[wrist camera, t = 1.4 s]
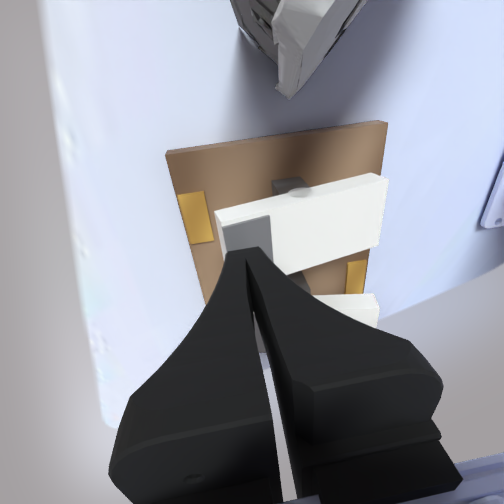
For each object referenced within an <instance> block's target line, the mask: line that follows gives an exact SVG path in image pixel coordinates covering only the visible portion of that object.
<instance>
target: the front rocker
mask: <svg viewBox="0 0 504 504" xmlns="http://www.w3.org/2000/svg"><path fill="white" fill-rule="evenodd" d="M388 183H389V179H387V178H385V177H382V176H379V175H377V174H374V173H367V174H363V175H359V176H355V177H351V178H347V179H343V180H339V181H334V182H330V183H326V184H322V185H318V186H314V187H310V188H295V189H292V190H290V191H289V192H288V193H286V194H282V195H277V196H273V197H269V198H265V199H261V200H257V201H253V202H249V203H245V204H241V205H237V206H233V207H229V208H225V209H220V210H216V211H214V214H215V219H216V224H217V229H218V234H219V239H220V244H221V249H222V254H223V259H224V260H225V254H226V253H227V252H228V251H233V250H239V249H245V248H251V247H257V246H259V247H260V248H261V249H262V250H263V251H264V253H265V254H266V255H267V256H268V257H269V258H270V259H271V261H272V262H273V263H274V264H275V265H276V266H277V267H278V268H279V269H280V270H281V271H283V272H284V273H285V274H286V275H288V274H291V273H294V272H297V271H301V270H304V269H307V268H310V267H313V266H316V265H319V264H322V263H326V262H329V261H332V260H335V259H338V258H341V257H344V256H347V255H351V254H354V253H357V252H360V251H363V250H366V249H369V248H372V247H376V246H378V244H379V238H380V232H381V226H382V219H383V213H384V207H385V201H386V195H387V189H388Z"/></svg>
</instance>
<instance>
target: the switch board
mask: <svg viewBox="0 0 504 504" xmlns="http://www.w3.org/2000/svg"><path fill="white" fill-rule="evenodd" d="M387 128H388V123H387V122H383V121H379V120H376V121H369V122H362V123H355V124H348V125H341V126H334V127H327V128H321V129H314V130H307V131H300V132H293V133H286V134H279V135H272V136H265V137H258V138H251V139H244V140H237V141H230V142H223V143H216V144H209V145H202V146H195V147H188V148H181V149H174V150H167V152H166V154H165V157H166V161H167V164H168V168H169V172H170V175H171V179H172V183H173V186H174V190H175V194H176V197H177V201H178V205H179V208H180V212H181V216H182V220H183V223H184V227H185V231H186V234H187V238H188V242H189V245H190V249H191V253H192V256H193V260H194V264H195V267H196V271H197V275H198V278H199V282H200V286H201V289H202V293H203V297H204V300H205V304H206V305H207V303H208V301H209V299H210V297H211V295H212V293H213V291H214V288H215V286H216V284H217V281H218V279H219V276H220V274H221V271H222V268H223V264H224V259H223V254H222V249H221V244H220V239H219V234H218V229H217V224H216V219H215V214H214V211H216V210H220V209H225V208H229V207H233V206H237V205H241V204H245V203H249V202H253V201H257V200H261V199H265V198H269V197H273V196H277V195H282V194H286V193H288V192H289V191H290V190H292V189H295V188H310V187H314V186H318V185H322V184H326V183H330V182H334V181H339V180H343V179H347V178H351V177H355V176H359V175H363V174H367V173H374V174H377V175H379V176H381V169H382V162H383V155H384V148H385V141H386V135H387ZM369 251H370V248H369V249H366V250H363V251H360V252H357V253H354V254H351V255H347V256H344V257H341V258H338V259H335V260H332V261H329V262H326V263H322V264H319V265H316V266H313V267H310V268H307V269H304V270H301V271H297V272H294V273H291V274H288V275H287V276H288V277H289V278H290V279H291V280H293V281H294V282H295V283H296V284H297V285H299V286H300V287H301V288H302V289H304V290H305V291H307V292H308V293H309V294H311V295H341V294H363V292H364V285H365V278H366V272H367V265H368V258H369Z"/></svg>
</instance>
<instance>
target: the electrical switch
mask: <svg viewBox="0 0 504 504" xmlns="http://www.w3.org/2000/svg"><path fill="white" fill-rule="evenodd" d="M367 1H368V0H230V2H231V5H232V8H233V10H234V13H235V16H236V19H237V22H238V25H239V26H240V27H241V28H242V29H243V30H244V31H246V32H247V33H248V34H249V35H250V36H251V37H252V38H253V39H254V40H255V41H256V42H257V43H258V44H259V45H260V46H259V47H258V49H260V50H261V51H262V52H263V53H265V54H266V55H267V56H268V57H270V58H271V59H272V60H273V61H274V62H275V63H276V64H277V65H278V79H279V82H278V83H277V84H276V86H275V89H276V90H277V91H279V92H280V93H281V94H282V95H284V96H285V97H286V98H287V99H289V100H290V99H291V98H292V97H293V96H294V95H295V94H296V93H297V92H298V91H299V90H300V89H301V88H302V87H303V86H304V84H305V83H306V82H307V80H308V79H309V78H310V76H311V75H312V74H313V72H314V71H315V70H316V68H317V67H318V66H319V64H320V63H321V62H322V60H323V59H324V58H325V57H326V56H327V54H328V53H329V52H330V51H331V49H332V48H333V47H334V45H335V44H336V43H337V41H338V40H339V39H340V37H341V36H342V34H343V33H344V32H345V30H346V29H347V27H348V26H349V25H350V23H351V22H352V21H353V19H354V18H355V17H356V15H357V14H358V13H359V11H360V10H361V9H362V7H363V6H364V5H365V3H366V2H367ZM241 14H242V15H241Z"/></svg>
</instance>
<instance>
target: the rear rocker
mask: <svg viewBox="0 0 504 504" xmlns="http://www.w3.org/2000/svg"><path fill="white" fill-rule="evenodd" d="M312 296H314V297H315V298H317V299H318V300H320V301H321V302H323V303H325V304H326V305H328V306H330V307H332V308H334V309H335V310H337V311H339V312H341V313H343V314H345V315H347V316H349V317H351V318H353V319H355V320H357V321H360V322H362V323H364V324H366V325H369V326H371V327H373V328H376V327H377V321H378V316H379V311H380V307H379V305H378V303H377V301H376V298H375V296H374V294H373V293H372V294H341V295H312ZM253 314H254V311H253ZM254 326H255V337H256V342H257V347H258V352H259V353H266V350H265V347H264V344H263V341H262V337H261V334H260V331H259V328H258V324H257V321H256V318H255V315H254Z"/></svg>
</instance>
